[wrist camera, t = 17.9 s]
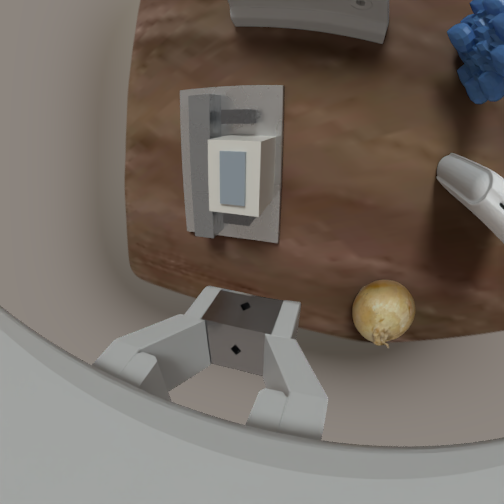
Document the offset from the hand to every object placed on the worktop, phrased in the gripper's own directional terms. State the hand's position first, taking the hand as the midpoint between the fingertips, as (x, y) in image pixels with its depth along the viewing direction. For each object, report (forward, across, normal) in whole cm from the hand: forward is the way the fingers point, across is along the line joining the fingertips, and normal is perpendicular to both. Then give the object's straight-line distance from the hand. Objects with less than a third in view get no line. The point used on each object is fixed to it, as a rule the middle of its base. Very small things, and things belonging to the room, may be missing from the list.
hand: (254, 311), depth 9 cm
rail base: (+24, -10, 0) cm, 26 cm away
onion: (+24, +10, -15) cm, 30 cm away
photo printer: (+24, +18, +1) cm, 30 cm away
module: (+23, -7, 0) cm, 24 cm away
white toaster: (+24, -1, +20) cm, 31 cm away
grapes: (+24, +15, +16) cm, 33 cm away
